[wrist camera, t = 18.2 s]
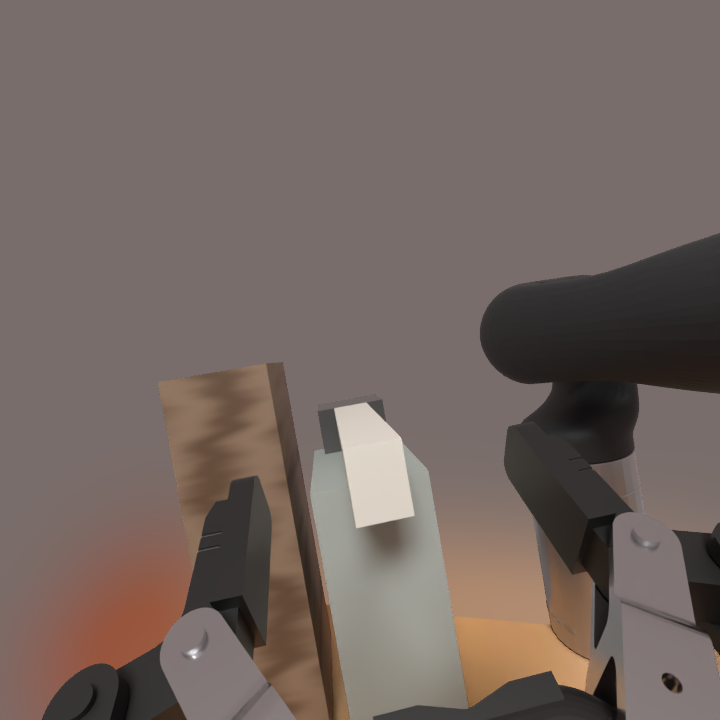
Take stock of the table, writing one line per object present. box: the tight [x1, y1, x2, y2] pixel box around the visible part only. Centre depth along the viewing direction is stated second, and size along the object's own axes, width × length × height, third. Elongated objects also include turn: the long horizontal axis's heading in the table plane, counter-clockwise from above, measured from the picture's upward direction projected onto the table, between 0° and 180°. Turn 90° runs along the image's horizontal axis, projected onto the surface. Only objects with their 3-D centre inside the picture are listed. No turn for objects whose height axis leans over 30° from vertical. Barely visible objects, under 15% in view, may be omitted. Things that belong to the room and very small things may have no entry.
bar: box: [318, 395, 415, 528], centre depth 30 cm, size 6×21×4 cm, turn 6°
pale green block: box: [310, 443, 469, 720], centre depth 32 cm, size 8×12×21 cm, turn 6°
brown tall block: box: [158, 362, 333, 720], centre depth 35 cm, size 8×12×30 cm, turn 6°
